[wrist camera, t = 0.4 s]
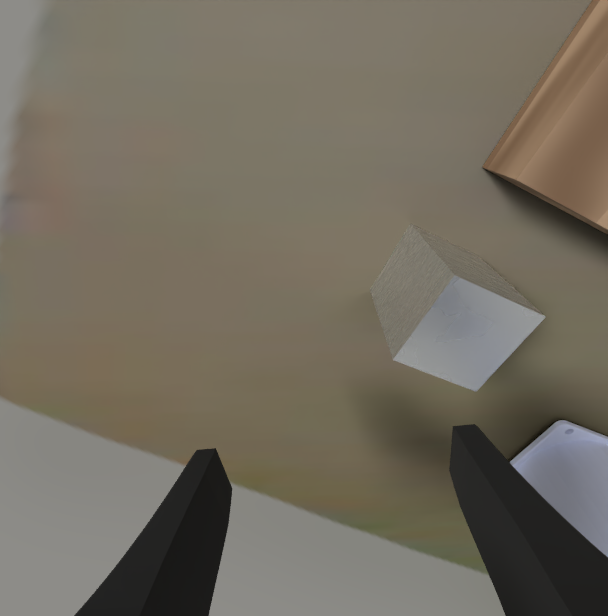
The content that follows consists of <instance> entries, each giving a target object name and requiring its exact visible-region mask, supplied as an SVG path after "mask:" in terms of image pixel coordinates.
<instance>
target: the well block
mask: <svg viewBox="0 0 608 616" xmlns="http://www.w3.org/2000/svg"><path fill="white" fill-rule="evenodd" d="M483 168H485V169H487V170H488V171H490V172H492V173H494V174H496V175H498V176H500V177H501V178H503V179H505V180H507V181H509V182H511V183H513V184H514V185H516V186H518V187H520V188H522V189H524V190H526V191H527V192H529V193H531V194H533V195H535V196H537V197H538V198H540V199H542V200H544V201H546V202H548V203H550V204H551V205H553V206H555V207H557V208H559V209H561V210H563V211H564V212H566V213H568V214H570V215H572V216H574V217H576V218H577V219H579V220H581V221H583V222H585V223H587V224H589V225H590V226H592V227H594V228H596V229H598V230H600V231H602V232H603V233H605V234H607V235H608V0H592V2H591V3H590V5H589V6H588V8H587V9H586V11H585V12H584V14H583V15H582V17H581V18H580V20H579V21H578V23H577V24H576V26H575V27H574V29H573V30H572V32H571V33H570V35H569V36H568V38H567V39H566V41H565V43H564V44H563V46H562V47H561V49H560V50H559V52H558V53H557V55H556V56H555V58H554V59H553V61H552V62H551V64H550V65H549V67H548V68H547V70H546V71H545V73H544V74H543V76H542V77H541V79H540V80H539V82H538V83H537V85H536V86H535V88H534V89H533V91H532V92H531V94H530V95H529V97H528V98H527V100H526V102H525V103H524V105H523V106H522V108H521V109H520V111H519V112H518V114H517V115H516V117H515V118H514V120H513V121H512V123H511V124H510V126H509V127H508V129H507V130H506V132H505V133H504V135H503V136H502V138H501V139H500V141H499V142H498V144H497V145H496V147H495V148H494V150H493V151H492V153H491V154H490V156H489V157H488V159H487V161H486V162H485V164H484V165H483Z"/></svg>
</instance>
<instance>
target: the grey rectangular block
mask: <svg viewBox="0 0 608 616" xmlns="http://www.w3.org/2000/svg"><path fill="white" fill-rule="evenodd" d="M370 292H371V295H372V298H373V301H374V304H375V307H376V310H377V314H378V317H379V320H380V323H381V326H382V329H383V332H384V335H385V338H386V341H387V344H388V347H389V350H390V353H391V356H392V359H393V360H395V361H397V362H400V363H402V364H405V365H408V366H410V367H413V368H415V369H418V370H421V371H423V372H426V373H429V374H431V375H434V376H436V377H439V378H442V379H444V380H447V381H450V382H452V383H455V384H457V385H460V386H463V387H465V388H468V389H470V390H473V391H477V390H478V389H479V388H480V387H481V386H482V385H483V384H484V383H485V382H486V380H487V379H488V378H489V377H490V376H491V375H492V374H493V373H494V372H495V371H496V370H497V369H498V368H499V367H500V365H501V364H502V363H503V362H504V361H505V360H506V359H507V358H508V357H509V356H510V355H511V354H512V353H513V352H514V350H515V349H516V348H517V347H518V346H519V345H520V344H521V343H522V342H523V341H524V340H525V339H526V338H527V337H528V335H529V334H530V333H531V332H532V331H533V330H534V329H535V328H536V327H537V326H538V325H539V324H540V323H541V322H542V320H543V319H544V318H545V317H546V316H544V315H543V314H542V313H541V312H540V311H539V310H538V309H537V308H536V307H534V306H533V305H532V304H531V303H530V302H529V301H528V300H527V299H526V298H524V297H523V296H522V295H521V294H520V293H519V292H518V291H517V290H516V289H514V288H513V287H512V286H511V285H510V284H509V283H508V282H507V281H506V280H504V279H503V278H502V277H501V276H500V275H499V274H498V273H497V272H496V271H494V270H493V269H492V268H491V267H490V266H489V265H488V264H487V263H486V262H484V261H483V260H482V259H481V258H480V257H479V256H478V255H476V254H474V253H472V252H470V251H468V250H465V249H463V248H461V247H459V246H457V245H455V244H453V243H451V242H449V241H447V240H444V239H442V238H440V237H438V236H436V235H434V234H432V233H430V232H428V231H426V230H423V229H421V228H419V227H417V226H415V225H413V224H411V223H410V225H409V227H408V228H407V230H406V231H405V233H404V235H403V236H402V238H401V240H400V241H399V243H398V245H397V246H396V248H395V249H394V251H393V253H392V254H391V256H390V258H389V259H388V261H387V263H386V264H385V266H384V267H383V269H382V271H381V272H380V274H379V276H378V277H377V279H376V281H375V282H374V284H373V285H372V287H371V289H370Z"/></svg>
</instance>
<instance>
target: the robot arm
mask: <svg viewBox="0 0 608 616" xmlns="http://www.w3.org/2000/svg"><path fill="white" fill-rule="evenodd" d="M449 471H450V474H451V478H452V481H453V484H454V488H455V491H456V494H457V497H458V500H459V504H460V507H461V509H462V512H463V514H464V517H465V519H466V521H467V524H468V526H469V528H470V531H471V533H472V536H473V538H474V540H475V543H476V545H477V547H478V550H479V552H480V554H481V557H482V559H483V562H484V564H485V566H486V569H487V571H488V573H489V576H490V578H491V580H492V583H493V585H494V587H495V590H496V592H497V595H498V597H499V599H500V602H501V605H502V607H503V610H504V612H505V615H506V616H608V437H607V436H605V435H602V434H599V433H597V432H594V431H592V430H589V429H586V428H584V427H581V426H579V425H576V424H574V423H571V422H568V421H565V420H559V421H557V422H555V423H554V424H553V425H552V426H550V427H549V428H548V429H547V430H546V431H545V432H544V433H542V434H541V435H540V436H539V437H538V438H537V439H535V440H534V441H533V442H532V443H531V444H530V445H529V446H527V447H526V448H525V449H524V450H523V451H522V452H520V453H519V454H518V455H517V456H516V457H515V458H514V459H512V460H511V461H510V462H509V461H508V460H507V459H506V458H505V457H504V456H503V455H502V454H501V453H500V452H499V451H498V449H497V448H496V447H495V446H494V445H493V444H492V443H491V442H490V440H489V439H488V438H487V437H486V436H485V435H484V433H483V432H482V431H481V430H480V429H479V428H478V427H477V426H476V425H475V424H473V425H463V426H453V433H452V445H451V458H450V470H449ZM231 496H232V487H231V484H230V482H229V480H228V477H227V475H226V472H225V470H224V467H223V465H222V463H221V460H220V458H219V455H218V453H217V450H216V448H215V449H204V450H197V451H196V452H195V453H194V455H193V456H192V458H191V459H190V461H189V462H188V464H187V465H186V467H185V468H184V470H183V472H182V473H181V475H180V476H179V478H178V479H177V481H176V482H175V484H174V486H173V487H172V489H171V490H170V492H169V493H168V495H167V496H166V498H165V499H164V501H163V502H162V503H161V505H160V506H159V508H158V509H157V511H156V512H155V514H154V515H153V517H152V518H151V519H150V521H149V522H148V524H147V525H146V527H145V528H144V529H143V531H142V532H141V533H140V535H139V536H138V537H137V539H136V540H135V542H134V543H133V544H132V546H131V547H130V548H129V550H128V551H127V552H126V554H125V555H124V556H123V558H122V559H121V560H120V561H119V563H118V564H117V565H116V567H115V568H114V569H113V570H112V572H111V573H110V574H109V575H108V577H107V578H106V579H105V580H104V582H103V583H102V584H101V585H100V586H99V588H98V589H97V590H96V591H95V593H94V594H93V595H92V596H91V597H90V598H89V600H88V601H87V602H86V603H85V604H84V605H83V606H82V608H81V609H80V610H79V611H78V612H77V613H76V614H75V615H74V616H208V615H209V610H210V606H211V601H212V597H213V592H214V588H215V583H216V579H217V574H218V570H219V565H220V561H221V556H222V551H223V547H224V542H225V537H226V533H227V528H228V523H229V514H230V506H231Z"/></svg>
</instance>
